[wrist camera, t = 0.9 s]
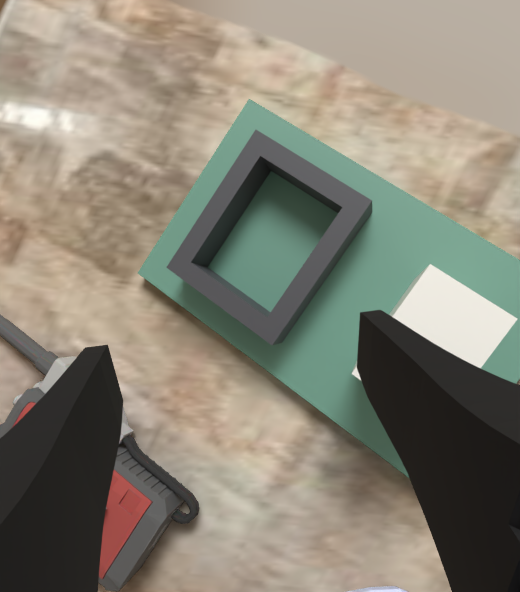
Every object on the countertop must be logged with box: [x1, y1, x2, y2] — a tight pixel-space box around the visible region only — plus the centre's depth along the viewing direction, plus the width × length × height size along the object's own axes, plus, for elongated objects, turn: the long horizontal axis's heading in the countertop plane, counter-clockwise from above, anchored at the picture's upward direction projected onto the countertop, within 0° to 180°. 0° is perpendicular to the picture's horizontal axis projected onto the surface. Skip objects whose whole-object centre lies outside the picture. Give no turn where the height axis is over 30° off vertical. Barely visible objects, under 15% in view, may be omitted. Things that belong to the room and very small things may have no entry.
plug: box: [352, 264, 517, 380], centre depth 20 cm, size 4×5×7 cm
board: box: [138, 99, 520, 478], centre depth 24 cm, size 20×12×4 cm, turn 55°
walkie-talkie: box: [0, 315, 199, 591], centre depth 28 cm, size 9×4×20 cm
